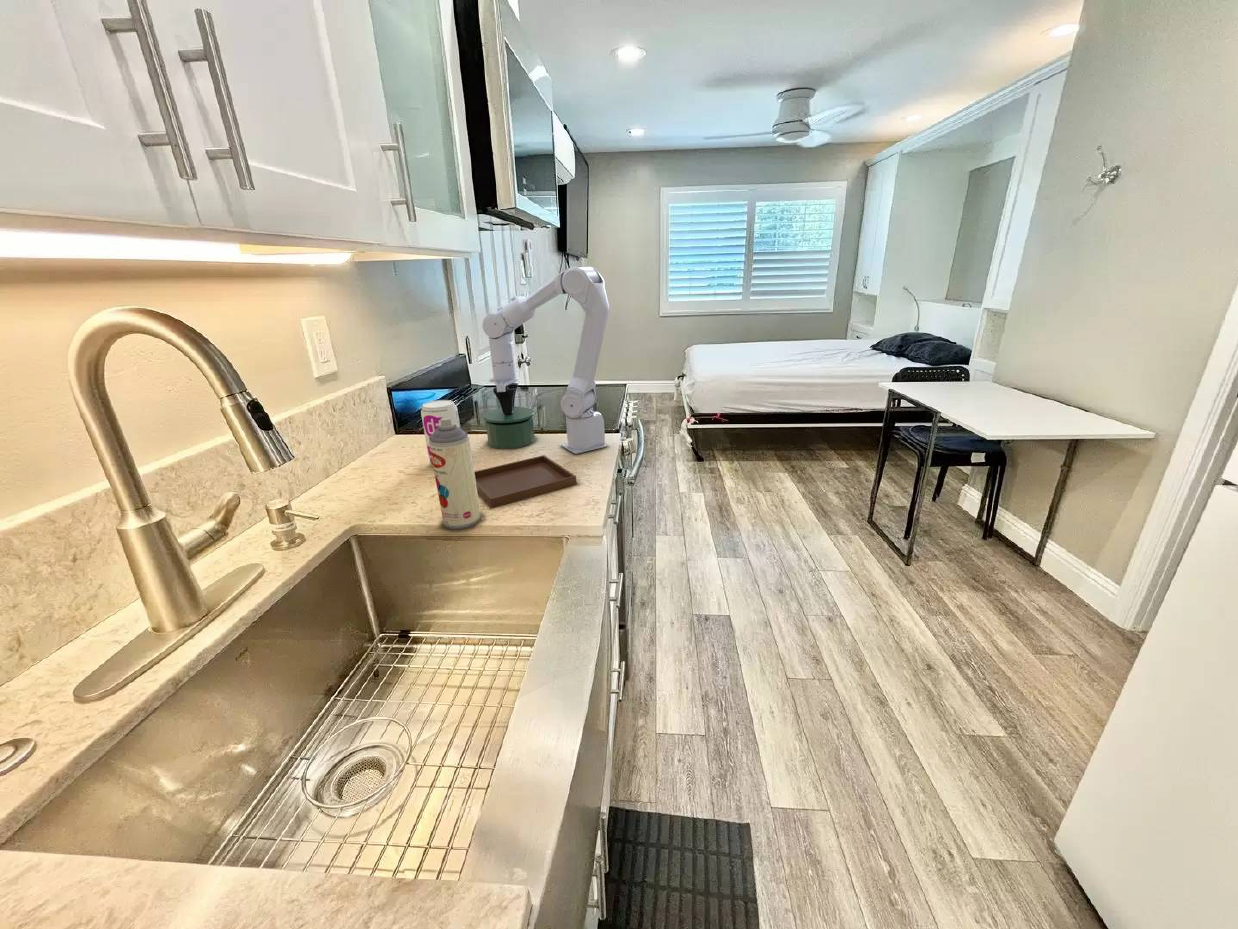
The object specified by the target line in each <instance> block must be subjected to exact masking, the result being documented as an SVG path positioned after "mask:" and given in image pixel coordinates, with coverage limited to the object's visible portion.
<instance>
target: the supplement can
mask: <svg viewBox="0 0 1238 929" xmlns="http://www.w3.org/2000/svg"><path fill="white" fill-rule="evenodd" d="M458 411H459V410H458V406H457V405H456V403H454V401H453V400H451V399H450V400H449V399H439V400H438V399H437V400H432V401H428V402H425V403H423V404H422V408H421V410H420V415H421V421H422V427H423V431H424V432H423V433H424V437H425V443H426V449H427V453H428V460H429V464H430V465H431V466H433V463H432V458H431V452H430V447H429V441H430V440H429V437H430V436H431V435H432V434H433V433H434V431H435V430H436V429H438V427H439V426H440V425H441V419H442V418H446V417H449V418H451V421H452V423H454V424H455V425H456V426H457V427H460V428H461V424H460V417H459V412H458Z"/></svg>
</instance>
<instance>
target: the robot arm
mask: <svg viewBox="0 0 1238 929" xmlns="http://www.w3.org/2000/svg"><path fill="white" fill-rule="evenodd" d="M605 281H606V280H605V279H604V278H603V275H601V273H600V272H599V271H598V270H597V269H596V268H595V267H592V266H581V267H580V266H571V267H568V268H567V269H565V271H562V272H559V273H558V274H555V276H554V277H552V278H551V279H549V280H548V281H547V282H545V283H544V284H543V285H541V286H540V287H539V288H538V289H537V290H535V291H533V293H531V294H530V295H528V296H527V297H526V296H524V295H523V296H522V295H519V296H517V295H515V296H513V297H511V298H510V302H508V303H507V304H506V305H504V306H503V307H502V306H500V307H498V308H497V309H496V310H497V311H496V313H493V312H492V313H487V314H486V316H484V318H483V320H482V329H483V332H484V334H485V335H486V336H487V337H488V344H489V351H490V360H491V368H492V369H491V370H492V376H493V377H490V378H489V379H488V381H489V383H493V384H494V385H495V386H496V387H493V389H492V392H493V394H494V395H495V396H496V398H497V401H498V402H499V405H500V408H502V411H503V413H504V414H512V410H514V407H515V402H516V400H515V399H516V394H517V389H518V386H519V383H518V382H517V381H518V378H517V374H516V364H515V357H514V356H515V355H514V346H513V333H514V332H515V330H516V329H518V328H519V327H520V326H522V325H523V324H525V323H526V322H528V321H530V320H531V319H533V318H534V316H535V313H536V309H538V308H540V307H542V306H543V305H544V304H546V303H548V302H550V301H551V300H553V299H555V298H557V297H558V296H560V295H569V297H570V298H571V299H573V300H574V301H575V302H577V303H578V304H579V306H580V307H581V308H582V310H583V312H584V313H585V317H584V321H583V325H582V331H581V335H580V341H579V345H578V350H577V354H576V360H575V365H574V370H573V375H572V378H571V380H570V382H569V383H568V385H567V388H566V392H565V393H564V395H563V396H562V397H561V399H560V409H561V411H562V412H563V414H564V415H565V424H566V425H565V426H566V440H567V441H566V443H565V442H564V443H561V447H562V448H564V449H566V450H568V451H570V452H571V453H572V454H575V455H577V454H582V453H586V452H590V451H594V450H598V449H603V448H606V447H607V444H606V433H605V420H604V417H603V415H602V413H600V411H594V406H595V404H596V402H597V394H596V387H597V383H596V381H595V376H596V371H597V368H598V363H599V358H600V354H601V350H602V345H603V340H604V337H605V331H606V327H607V323H608V319H609V314H610V304H609V300H608V296H607V292H606V288H605Z"/></svg>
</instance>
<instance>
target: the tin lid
mask: <svg viewBox="0 0 1238 929" xmlns="http://www.w3.org/2000/svg"><path fill="white" fill-rule="evenodd" d="M532 416H533V417H534V416H535V411H534V410H533V409H532V408H529V407H523V406H514V410H512V414H504V413H503V411H502V408H501V407H500V408H495V409H492V410H489V411H487V412H485V413H483V416H482V417H483V420H484V421H485V422H486V421H488V422H494V423H513V422H519V421H522V420H526V419H529V418H531V417H532Z"/></svg>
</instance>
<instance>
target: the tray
mask: <svg viewBox="0 0 1238 929" xmlns="http://www.w3.org/2000/svg"><path fill="white" fill-rule="evenodd" d="M474 473H475V480H476V487H477V493H478V495H479V496H480V497H481V498H482V499H483V500H484V501H485V502H486V503H487V504H488V506H490V508H496V507H499V506H503V505H506V504H511V503H513V502H518V501H521V500H525V499H528V498H533V497H536V496H540V495H543V494H546V493H550V492H553V491H557V490H562V489H564V488H568V487H572V486H575V485H577V483H578V482H577V476H576V475H575V474H573V473H572V472H571V471H569V470H568V469H566V468H565V467H563V466H562V465H560V464H558V463H557V462H555V461H554V460H552V458H549V457H548V456H546V455H545V454H543V455H538V456H535V457H530V458H525V459H522V460H518V461H517V460H516V461H512V462H509V463H504V464H501V465H496V466H492V467H487V468H483V469H479V470H474Z"/></svg>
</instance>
